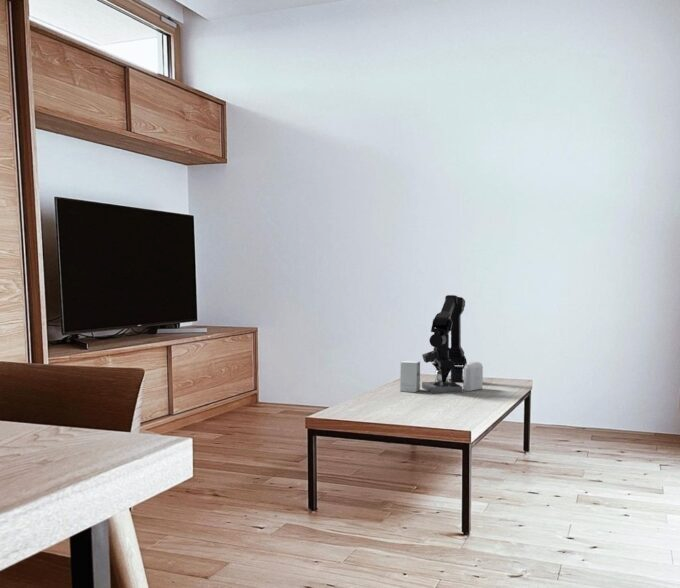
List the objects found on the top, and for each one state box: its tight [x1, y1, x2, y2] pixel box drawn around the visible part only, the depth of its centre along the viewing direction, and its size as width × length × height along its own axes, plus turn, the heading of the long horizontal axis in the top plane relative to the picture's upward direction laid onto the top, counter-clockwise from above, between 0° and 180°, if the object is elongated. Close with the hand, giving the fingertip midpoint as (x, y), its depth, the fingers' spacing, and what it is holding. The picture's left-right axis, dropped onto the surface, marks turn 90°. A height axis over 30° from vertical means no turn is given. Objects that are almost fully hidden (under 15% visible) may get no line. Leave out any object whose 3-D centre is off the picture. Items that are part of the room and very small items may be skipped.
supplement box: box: [399, 360, 421, 393], centre depth 294 cm, size 7×7×13 cm
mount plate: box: [421, 381, 463, 394], centre depth 296 cm, size 14×14×2 cm
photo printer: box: [462, 360, 484, 392], centre depth 297 cm, size 10×4×12 cm, turn 134°
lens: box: [434, 369, 449, 386], centre depth 296 cm, size 6×6×6 cm
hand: (441, 381), depth 296 cm, fingers closed on lens, 5 cm apart
